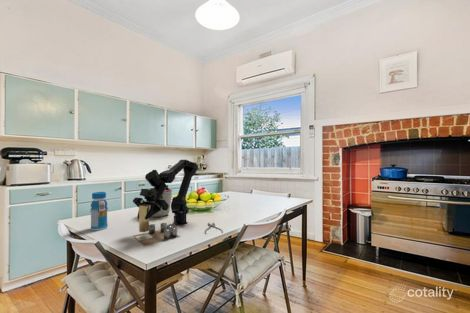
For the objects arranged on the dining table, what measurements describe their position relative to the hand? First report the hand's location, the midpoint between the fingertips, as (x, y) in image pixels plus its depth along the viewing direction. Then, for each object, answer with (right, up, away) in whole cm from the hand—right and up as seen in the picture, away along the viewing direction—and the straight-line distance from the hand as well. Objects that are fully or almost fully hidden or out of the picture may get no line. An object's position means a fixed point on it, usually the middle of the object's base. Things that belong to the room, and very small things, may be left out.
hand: (141, 218), depth 111 cm
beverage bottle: (-32, -11, +20) cm, 39 cm away
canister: (-8, -11, +49) cm, 51 cm away
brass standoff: (+1, -6, +1) cm, 6 cm away
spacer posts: (+8, -9, +5) cm, 13 cm away
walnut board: (+6, -10, +3) cm, 12 cm away
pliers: (+31, -11, +18) cm, 37 cm away
